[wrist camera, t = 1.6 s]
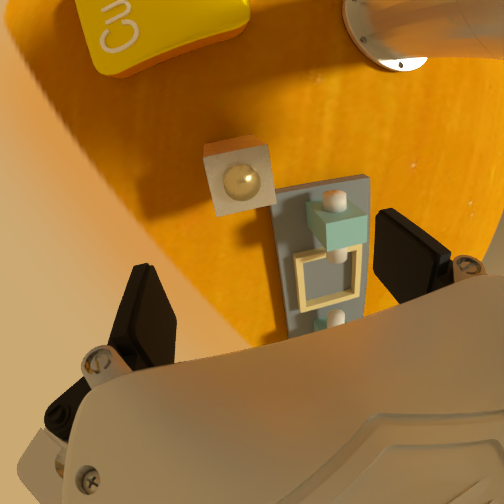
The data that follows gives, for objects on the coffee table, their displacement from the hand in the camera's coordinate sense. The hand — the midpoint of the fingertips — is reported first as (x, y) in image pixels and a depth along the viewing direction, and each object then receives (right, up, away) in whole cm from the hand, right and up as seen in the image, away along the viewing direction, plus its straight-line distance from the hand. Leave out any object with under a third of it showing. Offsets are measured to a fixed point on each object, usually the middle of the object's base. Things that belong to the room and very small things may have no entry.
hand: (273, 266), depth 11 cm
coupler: (-3, +10, +17) cm, 20 cm away
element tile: (-10, +26, +8) cm, 29 cm away
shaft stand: (+9, -2, +26) cm, 27 cm away
